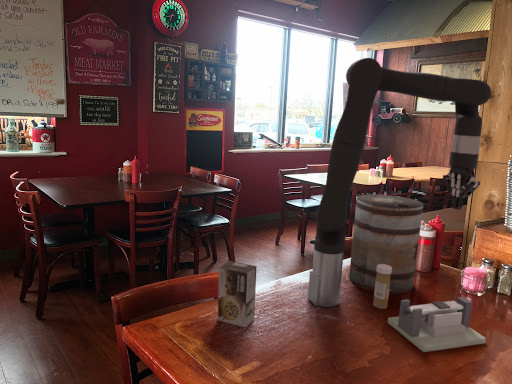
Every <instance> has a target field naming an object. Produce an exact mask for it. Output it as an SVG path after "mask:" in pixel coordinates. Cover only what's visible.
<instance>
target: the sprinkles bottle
mask: <svg viewBox="0 0 512 384" xmlns="http://www.w3.org/2000/svg"><path fill="white" fill-rule="evenodd" d="M376 271H377V274H376V282H375V292H373V293H374V294H373V302H372V305H373V307H374V308H376V309H379V310H380V309H381V310H383V309H384V310H385V309H387V308H388V306H389V305H388V301H389V296H390V294H389V285H390V276H391V273H392V267H391V266H389V265H386V264H378V265H377V269H376Z"/></svg>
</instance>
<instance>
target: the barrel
mask: <svg viewBox="0 0 512 384" xmlns="http://www.w3.org/2000/svg"><path fill="white" fill-rule="evenodd" d="M355 202H356V203H355V213H354V214H355V215H354V221H353V233H352V234H353V235H352V244H351V255H350V265H349V273H348V274H349V275H348V277H349V281H350V282H351V283H352V284H354V285H355V287H359V288H361V289H363V290H366V291H369V292H371V291H372V293H374V292H375V282H376V274H377V271H376V269H377V265H378V264H386V265H389V266H391V267H392V273H391V276H390V285H389V295H402V294H406V293H409V292H411V291H412V290H413V288H414V283H415V282H414V281H415V275H416V273H415V272H416V265H417V257H418V250H419V244H420V242H419V241H420V234H421V228H422V227H421V226H422V218H423V211H424V203H422V202H421V201H419V200H416V199H412V198H408V197H405V196H397V195H391V194H390V195H388V194H362V195H359V196H357V197H356V201H355Z"/></svg>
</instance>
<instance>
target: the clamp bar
mask: <svg viewBox="0 0 512 384" xmlns="http://www.w3.org/2000/svg"><path fill="white" fill-rule="evenodd" d="M415 308H421V309H422V314H428V313H436V312H444V311H451V310H459V309H463V306H462V305H460V304H459V303H457V301H455V300H450V301H449V300H448V301H443V300H440V301H432V303H425V304H423V303H422V304H417V305H416V304H415V305H410V306H407V310H408V311H409V313H410V314H412V312H413V309H415Z"/></svg>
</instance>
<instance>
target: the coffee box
mask: <svg viewBox="0 0 512 384" xmlns="http://www.w3.org/2000/svg"><path fill="white" fill-rule="evenodd" d="M256 282H257V265H252V264H247V263H244V262H243V263H242V262H238V261H232V260H228V261H227V262H225V263H224V264H223V265H221V266H219V267H218V301H217V302H218V303H217V304H218V305H217V306H218V307H217V321H219V322H223V323H227V324H231V325H234V326H238V327H241V328H246V327H248V326H249V325H250V324H251V323H252V322H253V321H254V320H255V313H256V312H255V311H256V310H255V308H256V289H257V288H256V287H257V283H256Z"/></svg>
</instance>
